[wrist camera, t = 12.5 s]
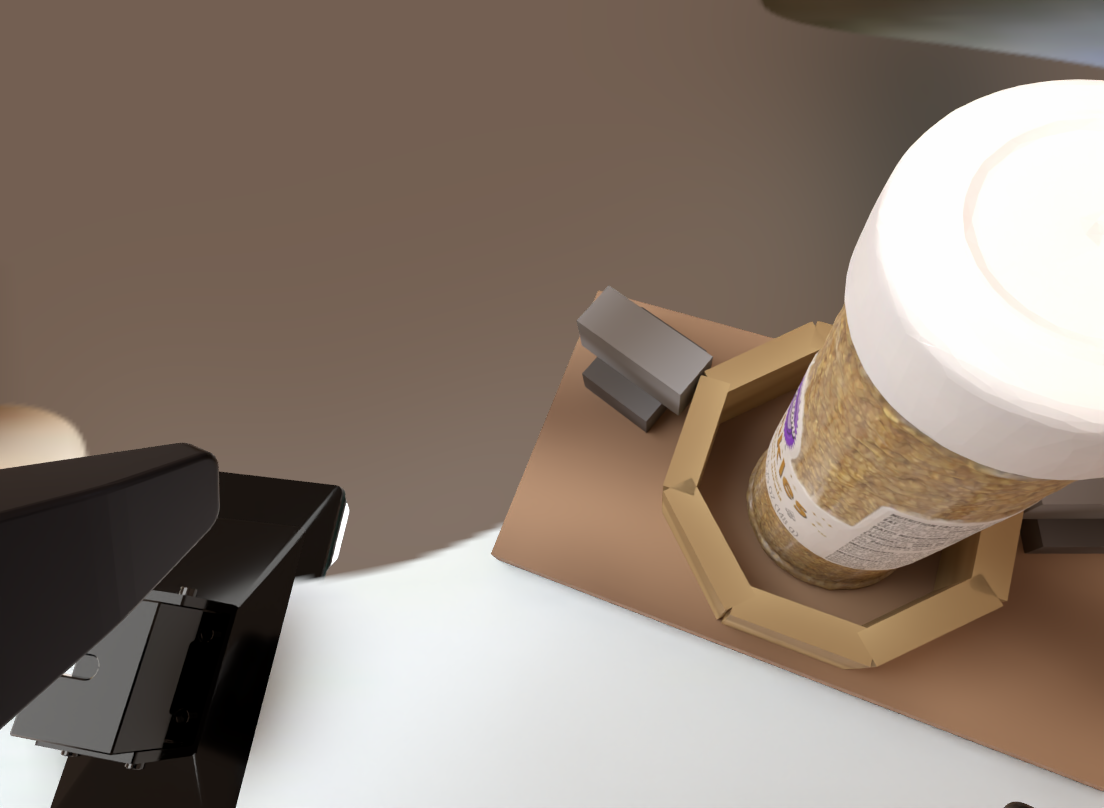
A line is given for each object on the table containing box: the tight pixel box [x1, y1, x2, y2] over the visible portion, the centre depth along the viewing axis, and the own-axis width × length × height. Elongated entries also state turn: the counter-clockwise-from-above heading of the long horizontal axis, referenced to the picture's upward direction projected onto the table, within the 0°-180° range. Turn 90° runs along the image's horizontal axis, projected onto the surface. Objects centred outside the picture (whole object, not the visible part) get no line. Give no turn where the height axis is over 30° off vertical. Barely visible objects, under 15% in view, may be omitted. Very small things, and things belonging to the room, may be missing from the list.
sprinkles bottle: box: [746, 80, 1104, 590], centre depth 14 cm, size 5×5×13 cm
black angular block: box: [10, 471, 350, 808], centre depth 20 cm, size 12×7×5 cm, turn 171°
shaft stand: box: [491, 286, 1104, 792], centre depth 20 cm, size 9×16×4 cm, turn 69°
